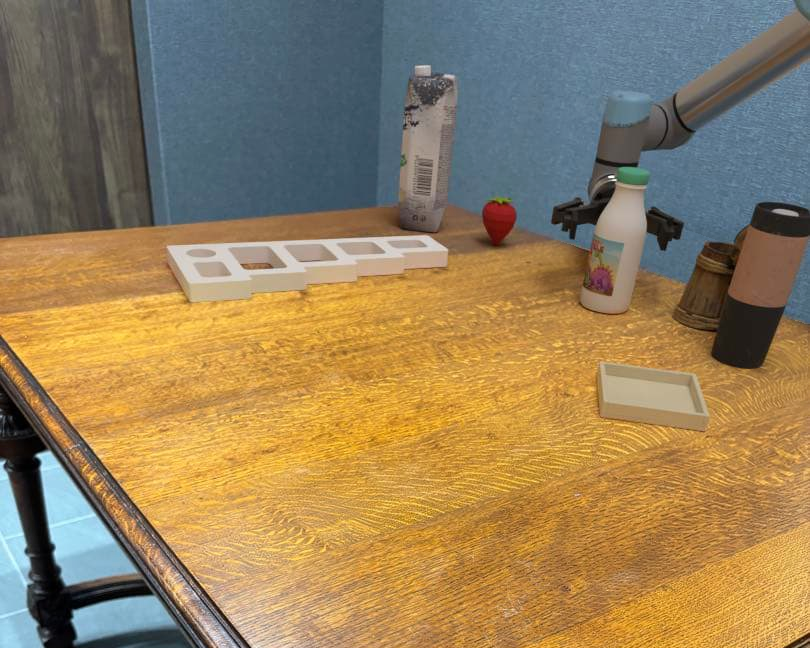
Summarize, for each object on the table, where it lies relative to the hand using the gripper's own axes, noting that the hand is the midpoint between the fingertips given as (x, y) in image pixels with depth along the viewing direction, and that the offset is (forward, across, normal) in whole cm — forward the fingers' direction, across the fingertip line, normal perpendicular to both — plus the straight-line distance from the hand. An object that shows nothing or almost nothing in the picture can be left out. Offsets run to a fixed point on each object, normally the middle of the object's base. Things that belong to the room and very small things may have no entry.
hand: (619, 235), depth 121 cm
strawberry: (-28, -19, +11) cm, 35 cm away
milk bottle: (-1, 0, +11) cm, 11 cm away
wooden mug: (+2, +16, +11) cm, 20 cm away
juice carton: (-34, -34, +11) cm, 50 cm away
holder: (+2, -45, +11) cm, 46 cm away
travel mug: (+14, +18, +11) cm, 26 cm away
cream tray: (+33, +4, +11) cm, 35 cm away
